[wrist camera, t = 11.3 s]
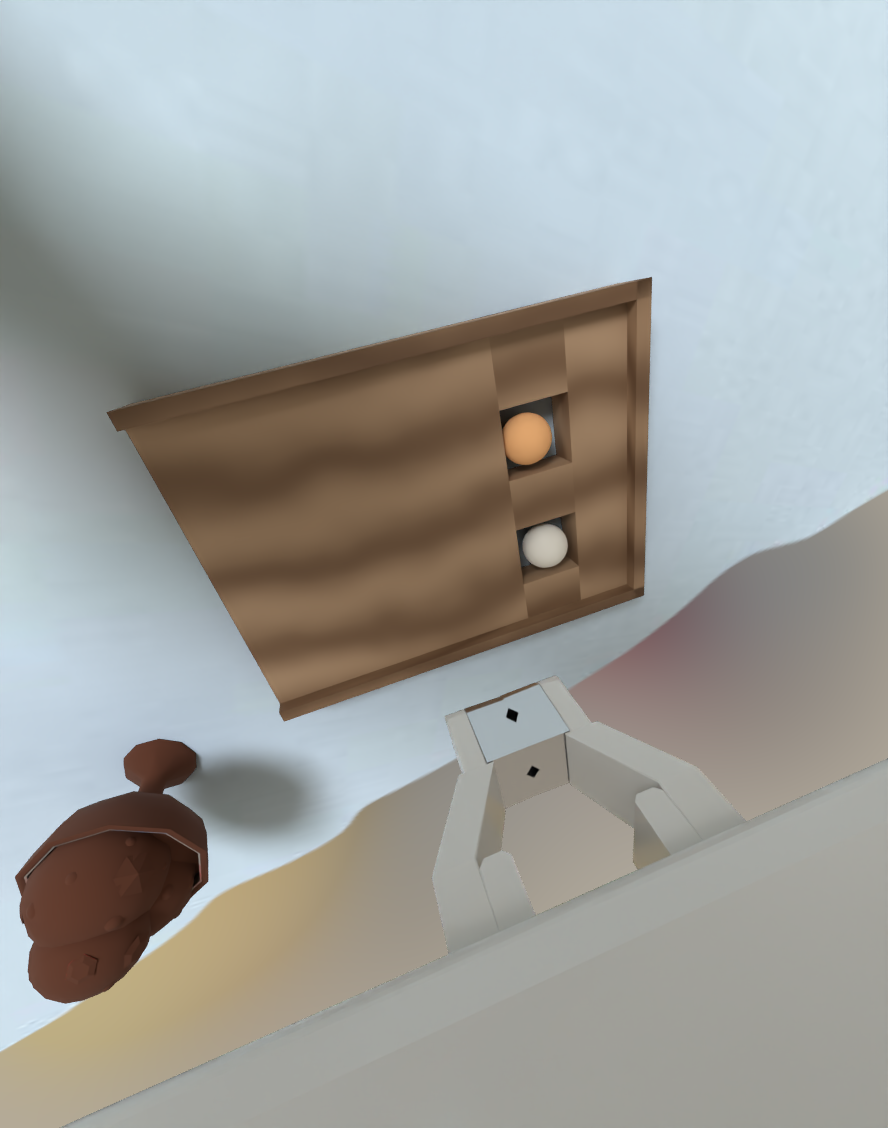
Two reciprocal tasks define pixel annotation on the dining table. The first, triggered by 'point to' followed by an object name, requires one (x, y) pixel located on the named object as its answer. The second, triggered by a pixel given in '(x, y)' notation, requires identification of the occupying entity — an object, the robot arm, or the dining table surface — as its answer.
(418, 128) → the dining table surface
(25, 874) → the ice cream bowl
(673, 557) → the dining table surface
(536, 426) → the ball orange
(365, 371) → the wooden tray
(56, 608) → the dining table surface
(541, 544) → the ball grey
